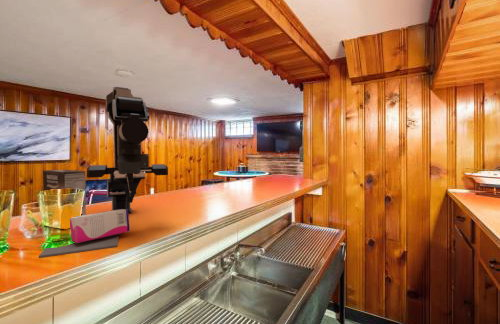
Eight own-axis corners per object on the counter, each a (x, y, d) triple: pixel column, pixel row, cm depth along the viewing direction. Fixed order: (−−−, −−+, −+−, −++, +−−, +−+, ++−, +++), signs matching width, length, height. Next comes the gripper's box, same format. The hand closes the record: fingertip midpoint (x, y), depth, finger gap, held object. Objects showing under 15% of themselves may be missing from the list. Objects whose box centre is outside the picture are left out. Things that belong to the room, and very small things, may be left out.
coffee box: (43, 226, 69) (41, 170, 69) (67, 220, 75) (65, 169, 75) (63, 230, 66) (62, 171, 65) (87, 224, 72) (86, 170, 71)
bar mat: (60, 233, 64) (60, 232, 64) (120, 226, 70) (120, 225, 70) (38, 257, 49) (38, 255, 49) (117, 246, 55) (117, 245, 55)
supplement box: (119, 209, 66) (68, 216, 58) (128, 208, 62) (74, 217, 54) (121, 230, 66) (69, 241, 57) (130, 231, 62) (76, 243, 53)
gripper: (81, 142, 53) (83, 213, 54) (170, 144, 61) (171, 205, 62) (89, 143, 63) (91, 203, 64) (165, 145, 71) (165, 197, 72)
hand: (130, 202), depth 65 cm, fingers closed
